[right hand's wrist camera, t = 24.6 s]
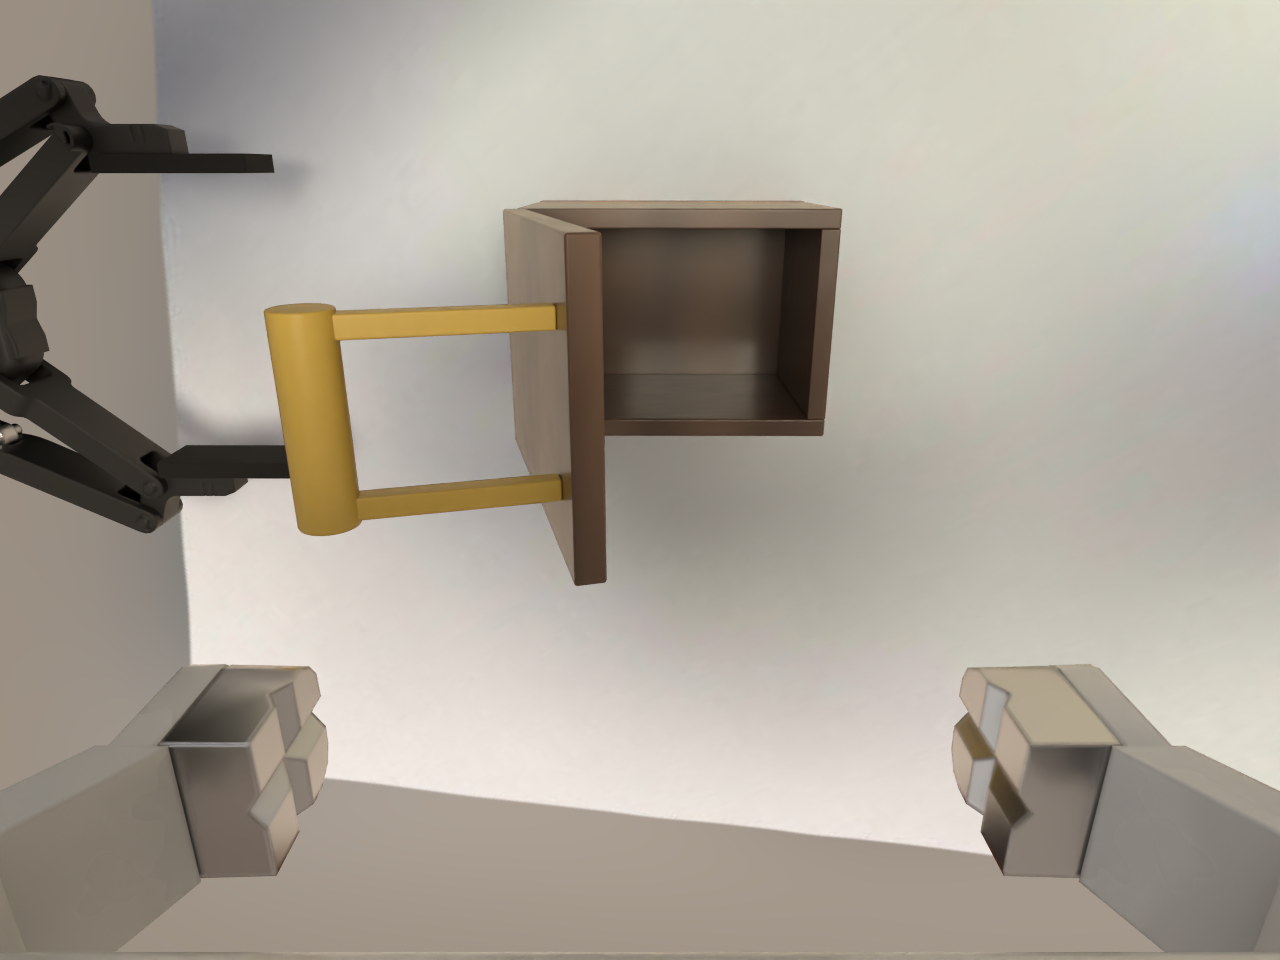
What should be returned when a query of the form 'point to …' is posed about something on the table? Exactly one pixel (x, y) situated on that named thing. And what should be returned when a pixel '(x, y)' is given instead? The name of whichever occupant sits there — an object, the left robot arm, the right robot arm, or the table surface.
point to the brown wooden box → (713, 314)
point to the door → (542, 395)
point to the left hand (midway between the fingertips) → (285, 322)
